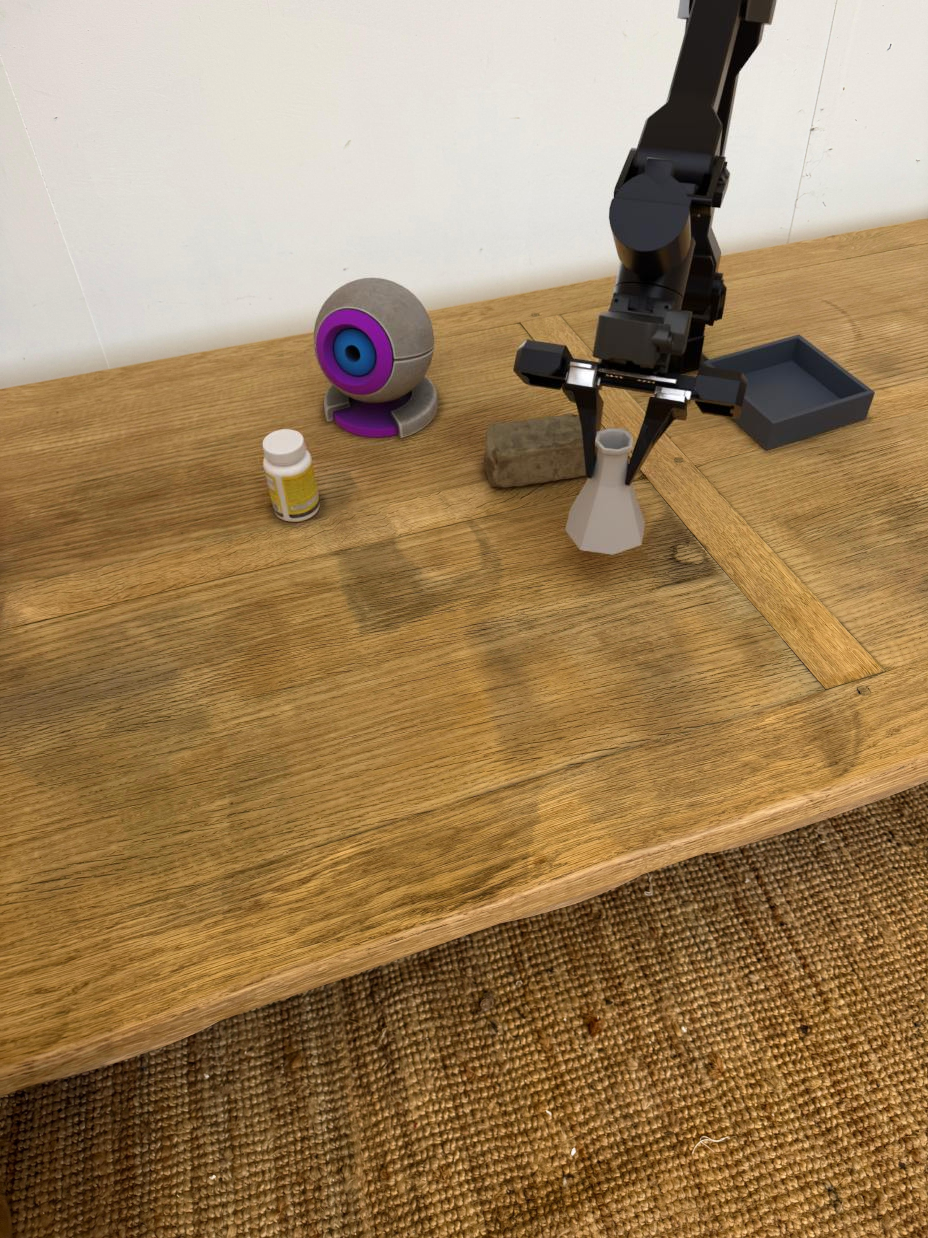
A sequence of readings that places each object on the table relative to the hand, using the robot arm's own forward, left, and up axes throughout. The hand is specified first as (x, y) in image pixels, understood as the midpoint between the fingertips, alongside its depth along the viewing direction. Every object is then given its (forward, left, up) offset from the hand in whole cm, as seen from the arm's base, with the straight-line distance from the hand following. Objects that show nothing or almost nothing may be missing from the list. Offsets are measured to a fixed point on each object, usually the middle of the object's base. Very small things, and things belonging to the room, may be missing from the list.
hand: (607, 481), depth 78 cm
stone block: (-17, +3, -12) cm, 22 cm away
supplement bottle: (-22, -22, -12) cm, 34 cm away
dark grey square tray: (-16, +33, -12) cm, 38 cm away
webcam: (-35, -8, -12) cm, 38 cm away
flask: (-1, +1, -7) cm, 7 cm away
